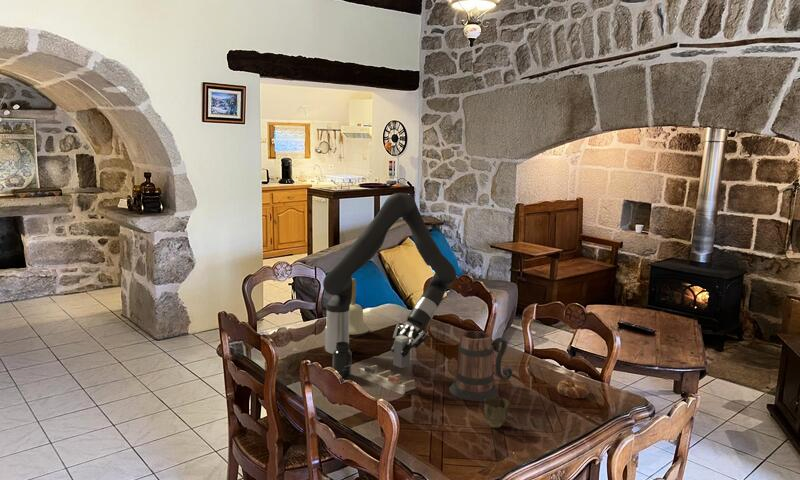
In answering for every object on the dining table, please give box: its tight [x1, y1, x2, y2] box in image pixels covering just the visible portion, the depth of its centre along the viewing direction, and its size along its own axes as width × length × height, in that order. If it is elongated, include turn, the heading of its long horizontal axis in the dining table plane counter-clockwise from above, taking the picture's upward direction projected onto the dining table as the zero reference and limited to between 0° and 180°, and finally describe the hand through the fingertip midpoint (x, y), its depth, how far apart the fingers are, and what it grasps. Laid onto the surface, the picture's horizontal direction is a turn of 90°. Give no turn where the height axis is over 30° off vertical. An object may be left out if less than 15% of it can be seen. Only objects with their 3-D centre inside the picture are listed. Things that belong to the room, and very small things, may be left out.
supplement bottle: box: [332, 342, 353, 379], centre depth 213 cm, size 7×7×12 cm
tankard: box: [448, 330, 513, 402], centre depth 203 cm, size 24×17×20 cm
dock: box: [358, 364, 416, 395], centre depth 208 cm, size 22×7×5 cm, turn 45°
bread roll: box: [556, 378, 591, 399], centre depth 204 cm, size 12×11×4 cm
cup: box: [483, 396, 510, 429], centre depth 176 cm, size 8×7×8 cm
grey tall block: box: [392, 334, 411, 369], centre depth 202 cm, size 4×4×10 cm
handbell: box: [349, 277, 370, 335], centre depth 264 cm, size 15×15×25 cm
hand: (397, 353), depth 201 cm, fingers closed on grey tall block, 4 cm apart
